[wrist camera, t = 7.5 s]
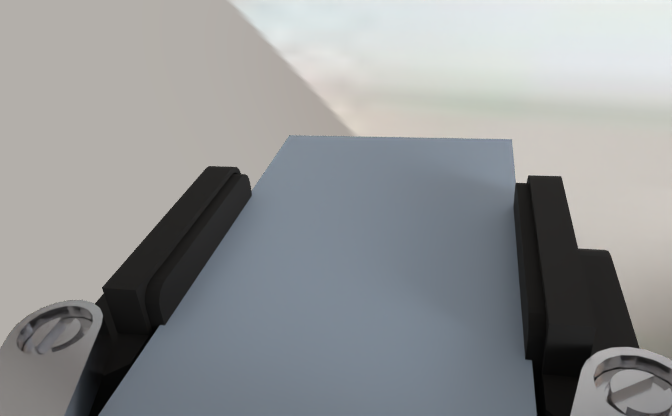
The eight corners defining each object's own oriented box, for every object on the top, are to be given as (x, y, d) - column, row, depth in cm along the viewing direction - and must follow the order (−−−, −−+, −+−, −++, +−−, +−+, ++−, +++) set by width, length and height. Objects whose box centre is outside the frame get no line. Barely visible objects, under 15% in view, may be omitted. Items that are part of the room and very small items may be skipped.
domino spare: (289, 135, 14) (-214, 872, 4) (511, 139, 13) (604, 1175, 3) (297, 201, 15) (-96, 942, 5) (506, 211, 14) (560, 1190, 4)
